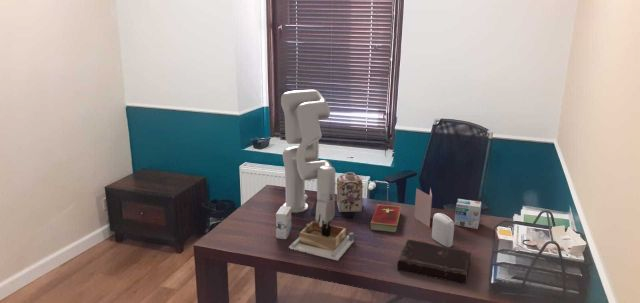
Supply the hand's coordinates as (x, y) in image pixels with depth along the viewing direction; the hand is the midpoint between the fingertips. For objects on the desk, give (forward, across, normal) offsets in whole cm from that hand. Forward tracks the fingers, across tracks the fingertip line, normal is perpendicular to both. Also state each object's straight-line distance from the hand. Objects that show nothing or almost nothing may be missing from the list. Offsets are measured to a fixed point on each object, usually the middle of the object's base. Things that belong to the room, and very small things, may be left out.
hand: (325, 235), depth 193 cm
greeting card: (+3, -36, +33) cm, 49 cm away
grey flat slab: (+3, +4, 0) cm, 5 cm away
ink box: (+3, +3, -19) cm, 19 cm away
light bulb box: (+3, -43, +52) cm, 67 cm away
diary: (+3, -1, +46) cm, 46 cm away
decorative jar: (+3, -36, -4) cm, 37 cm away
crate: (+1, +3, 0) cm, 3 cm away
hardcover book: (+3, -29, +17) cm, 34 cm away
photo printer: (+3, -21, +45) cm, 49 cm away
